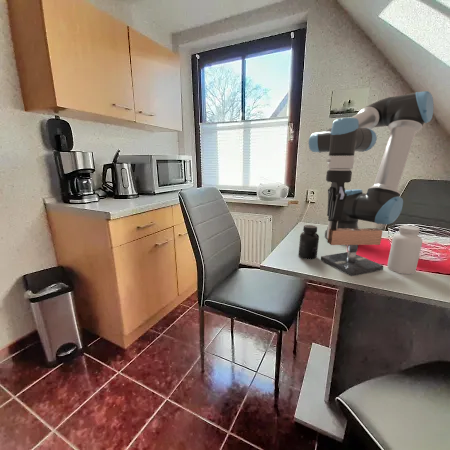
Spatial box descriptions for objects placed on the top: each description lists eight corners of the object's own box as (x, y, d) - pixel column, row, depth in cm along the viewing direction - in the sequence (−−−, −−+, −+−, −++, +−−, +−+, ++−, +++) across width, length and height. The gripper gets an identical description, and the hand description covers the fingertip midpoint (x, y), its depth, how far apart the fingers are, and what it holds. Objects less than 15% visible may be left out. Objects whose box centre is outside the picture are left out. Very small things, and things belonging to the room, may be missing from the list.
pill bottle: (403, 276, 79) (412, 231, 75) (381, 266, 86) (388, 225, 82) (421, 273, 81) (431, 229, 77) (398, 263, 88) (406, 223, 84)
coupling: (326, 249, 87) (328, 228, 85) (373, 248, 88) (376, 228, 86) (330, 252, 84) (332, 230, 82) (378, 251, 85) (382, 230, 83)
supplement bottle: (318, 260, 91) (321, 229, 88) (299, 259, 92) (301, 228, 89) (315, 253, 97) (318, 224, 94) (297, 252, 99) (300, 223, 96)
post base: (349, 255, 96) (351, 243, 95) (382, 269, 83) (385, 256, 82) (320, 260, 91) (322, 247, 90) (351, 276, 79) (353, 261, 77)
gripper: (322, 168, 87) (316, 232, 93) (332, 170, 74) (324, 243, 81) (345, 168, 86) (336, 233, 92) (359, 170, 73) (348, 245, 80)
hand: (331, 238), depth 86 cm, fingers closed
